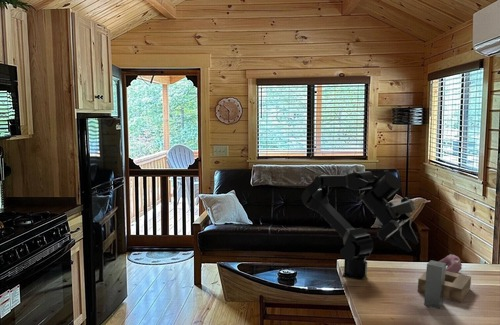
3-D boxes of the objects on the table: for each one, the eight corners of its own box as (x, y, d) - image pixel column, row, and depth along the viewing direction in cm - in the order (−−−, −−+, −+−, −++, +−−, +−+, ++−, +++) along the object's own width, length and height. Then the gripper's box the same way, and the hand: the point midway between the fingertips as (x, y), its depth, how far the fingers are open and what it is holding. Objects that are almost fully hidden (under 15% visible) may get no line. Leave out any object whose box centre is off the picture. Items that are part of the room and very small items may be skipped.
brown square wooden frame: (417, 291, 132) (418, 278, 132) (429, 279, 142) (430, 267, 141) (460, 302, 125) (461, 289, 124) (470, 289, 134) (471, 276, 134)
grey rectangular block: (424, 305, 123) (426, 264, 122) (428, 300, 126) (431, 260, 125) (439, 309, 121) (442, 267, 119) (443, 304, 124) (446, 263, 122)
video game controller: (454, 282, 143) (466, 265, 142) (441, 275, 144) (453, 257, 142) (447, 271, 153) (458, 254, 151) (435, 264, 153) (446, 248, 152)
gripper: (390, 194, 123) (429, 239, 119) (406, 185, 139) (441, 224, 135) (361, 218, 129) (398, 262, 124) (380, 206, 144) (413, 245, 140)
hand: (414, 247), depth 131 cm, fingers open, 9 cm apart
